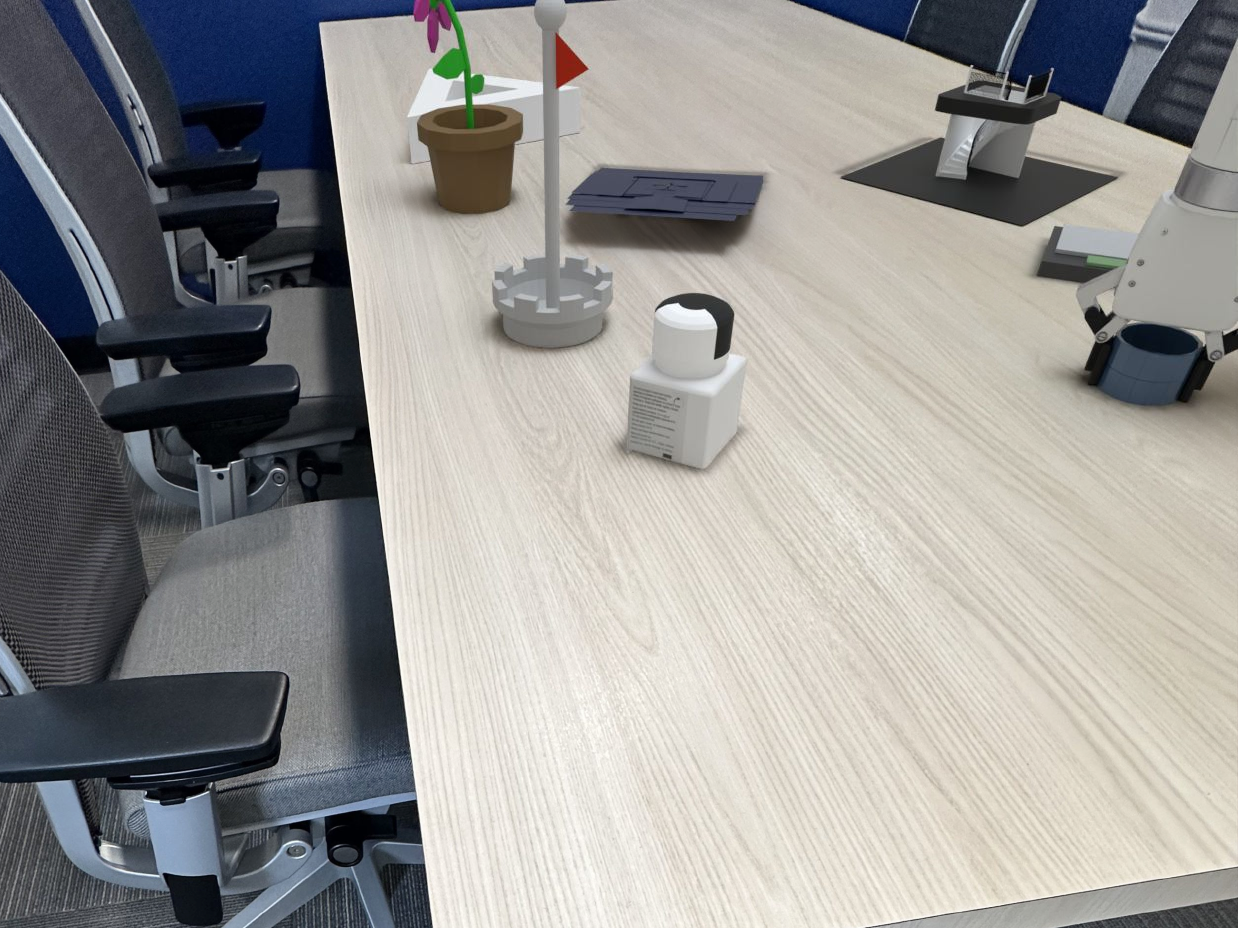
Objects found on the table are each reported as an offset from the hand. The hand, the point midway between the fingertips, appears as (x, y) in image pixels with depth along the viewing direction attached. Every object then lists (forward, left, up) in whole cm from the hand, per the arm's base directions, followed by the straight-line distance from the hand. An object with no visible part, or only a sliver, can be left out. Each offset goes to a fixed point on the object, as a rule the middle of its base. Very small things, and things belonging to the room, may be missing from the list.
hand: (1138, 385), depth 92 cm
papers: (+60, -30, -1) cm, 67 cm away
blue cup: (0, 0, -1) cm, 1 cm away
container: (+36, +27, -1) cm, 45 cm away
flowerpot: (+86, -23, -1) cm, 89 cm away
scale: (+5, -30, -1) cm, 30 cm away
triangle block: (+98, -53, -1) cm, 111 cm away
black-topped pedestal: (+24, -59, -1) cm, 64 cm away
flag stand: (+58, +9, -1) cm, 59 cm away
